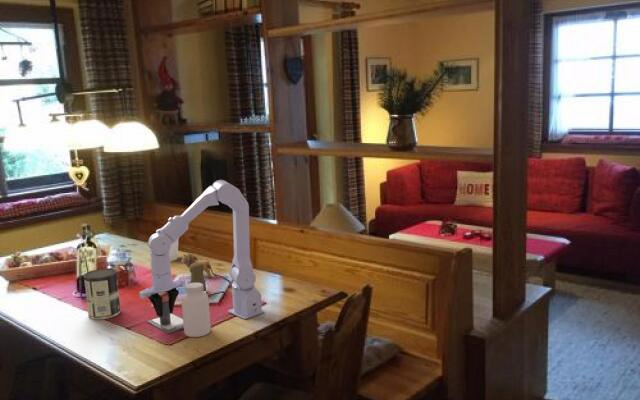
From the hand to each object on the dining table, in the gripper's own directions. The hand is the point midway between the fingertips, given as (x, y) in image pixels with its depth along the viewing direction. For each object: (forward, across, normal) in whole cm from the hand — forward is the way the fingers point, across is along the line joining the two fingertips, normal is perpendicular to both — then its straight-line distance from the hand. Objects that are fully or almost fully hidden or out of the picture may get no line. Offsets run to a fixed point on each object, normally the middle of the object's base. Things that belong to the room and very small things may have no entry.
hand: (164, 314), depth 178 cm
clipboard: (+4, -2, 0) cm, 4 cm away
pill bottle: (+4, -4, +12) cm, 13 cm away
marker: (+3, 0, 0) cm, 3 cm away
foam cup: (+4, -38, -62) cm, 74 cm away
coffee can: (+4, +8, -24) cm, 26 cm away
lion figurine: (+4, -34, -33) cm, 48 cm away
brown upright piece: (+4, -24, -18) cm, 30 cm away
